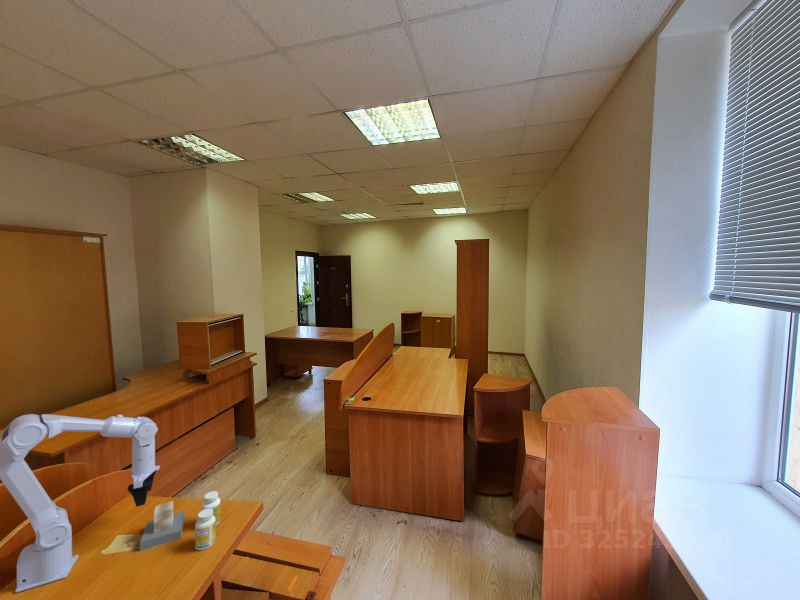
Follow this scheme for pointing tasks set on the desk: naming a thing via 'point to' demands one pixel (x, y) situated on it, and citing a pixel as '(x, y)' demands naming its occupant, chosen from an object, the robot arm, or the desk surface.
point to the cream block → (163, 517)
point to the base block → (162, 533)
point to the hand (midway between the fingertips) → (143, 497)
